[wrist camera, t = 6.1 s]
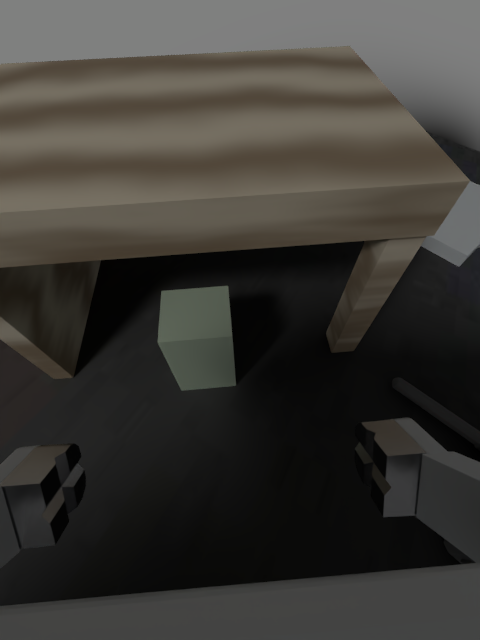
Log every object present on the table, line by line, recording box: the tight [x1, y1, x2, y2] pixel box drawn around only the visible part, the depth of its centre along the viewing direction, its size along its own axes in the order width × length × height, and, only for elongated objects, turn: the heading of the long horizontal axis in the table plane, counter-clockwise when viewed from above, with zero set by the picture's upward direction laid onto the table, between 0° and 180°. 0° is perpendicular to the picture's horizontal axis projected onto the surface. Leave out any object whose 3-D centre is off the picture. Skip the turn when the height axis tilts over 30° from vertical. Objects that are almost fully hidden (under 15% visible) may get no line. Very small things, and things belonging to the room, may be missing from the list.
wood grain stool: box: [0, 46, 470, 379], centre depth 24 cm, size 18×26×16 cm
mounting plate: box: [421, 181, 480, 266], centre depth 36 cm, size 18×13×2 cm
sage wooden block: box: [158, 286, 236, 391], centre depth 23 cm, size 4×4×8 cm
